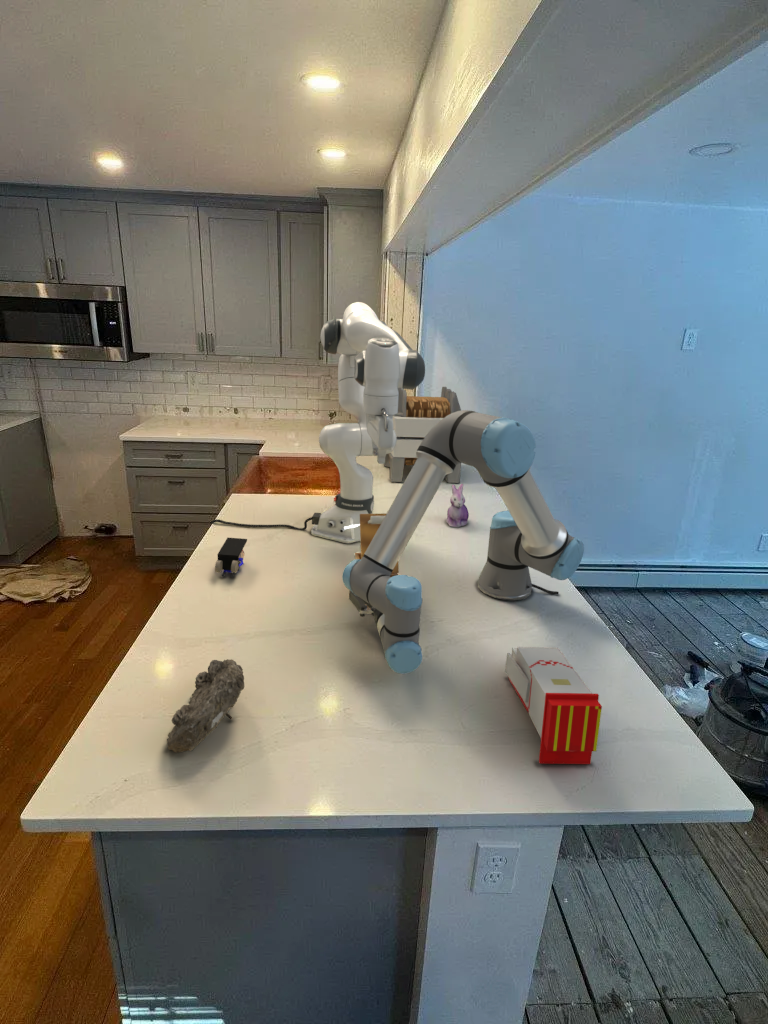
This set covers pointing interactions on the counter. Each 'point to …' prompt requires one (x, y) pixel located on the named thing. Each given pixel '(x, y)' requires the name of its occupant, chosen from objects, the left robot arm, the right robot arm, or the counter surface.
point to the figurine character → (230, 556)
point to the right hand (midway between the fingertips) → (377, 579)
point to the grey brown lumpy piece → (206, 705)
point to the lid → (371, 532)
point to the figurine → (457, 508)
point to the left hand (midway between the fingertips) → (378, 459)
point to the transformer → (418, 429)
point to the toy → (556, 704)
